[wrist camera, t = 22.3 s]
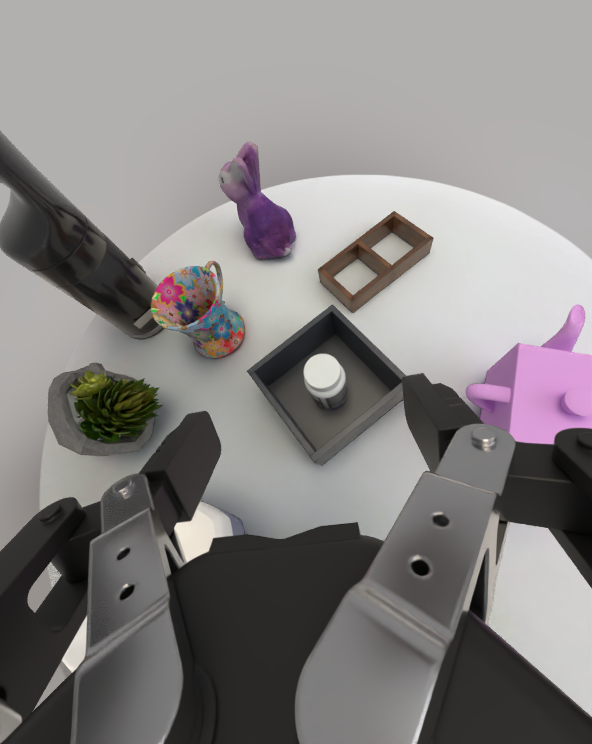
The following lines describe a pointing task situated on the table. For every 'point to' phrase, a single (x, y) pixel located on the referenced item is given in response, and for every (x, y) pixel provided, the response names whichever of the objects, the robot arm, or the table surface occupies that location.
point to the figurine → (256, 206)
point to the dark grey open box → (363, 376)
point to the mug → (198, 310)
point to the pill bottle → (326, 381)
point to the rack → (375, 259)
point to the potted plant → (101, 411)
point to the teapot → (539, 387)
